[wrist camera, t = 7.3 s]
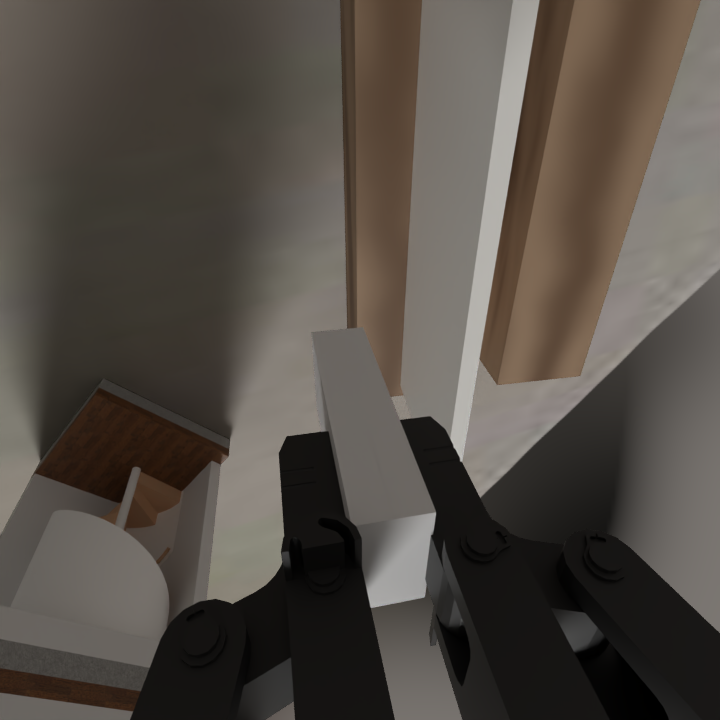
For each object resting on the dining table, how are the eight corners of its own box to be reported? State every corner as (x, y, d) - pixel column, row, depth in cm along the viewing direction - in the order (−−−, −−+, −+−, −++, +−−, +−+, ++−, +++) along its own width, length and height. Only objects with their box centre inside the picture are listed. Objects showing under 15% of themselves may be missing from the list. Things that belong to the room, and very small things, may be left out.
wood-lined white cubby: (229, 439, 42) (153, 1312, 13) (165, 508, 45) (-10, 1322, 16) (103, 378, 36) (-514, 1657, 7) (39, 461, 39) (-553, 1564, 11)
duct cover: (410, 384, 35) (400, 385, 35) (445, -94, 20) (427, -95, 20) (454, 504, 26) (440, 505, 26) (573, -204, 11) (541, -206, 11)
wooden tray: (348, 362, 39) (357, 400, 35) (338, -100, 23) (353, -131, 19) (549, 343, 42) (580, 376, 37) (662, -88, 26) (736, -112, 22)
